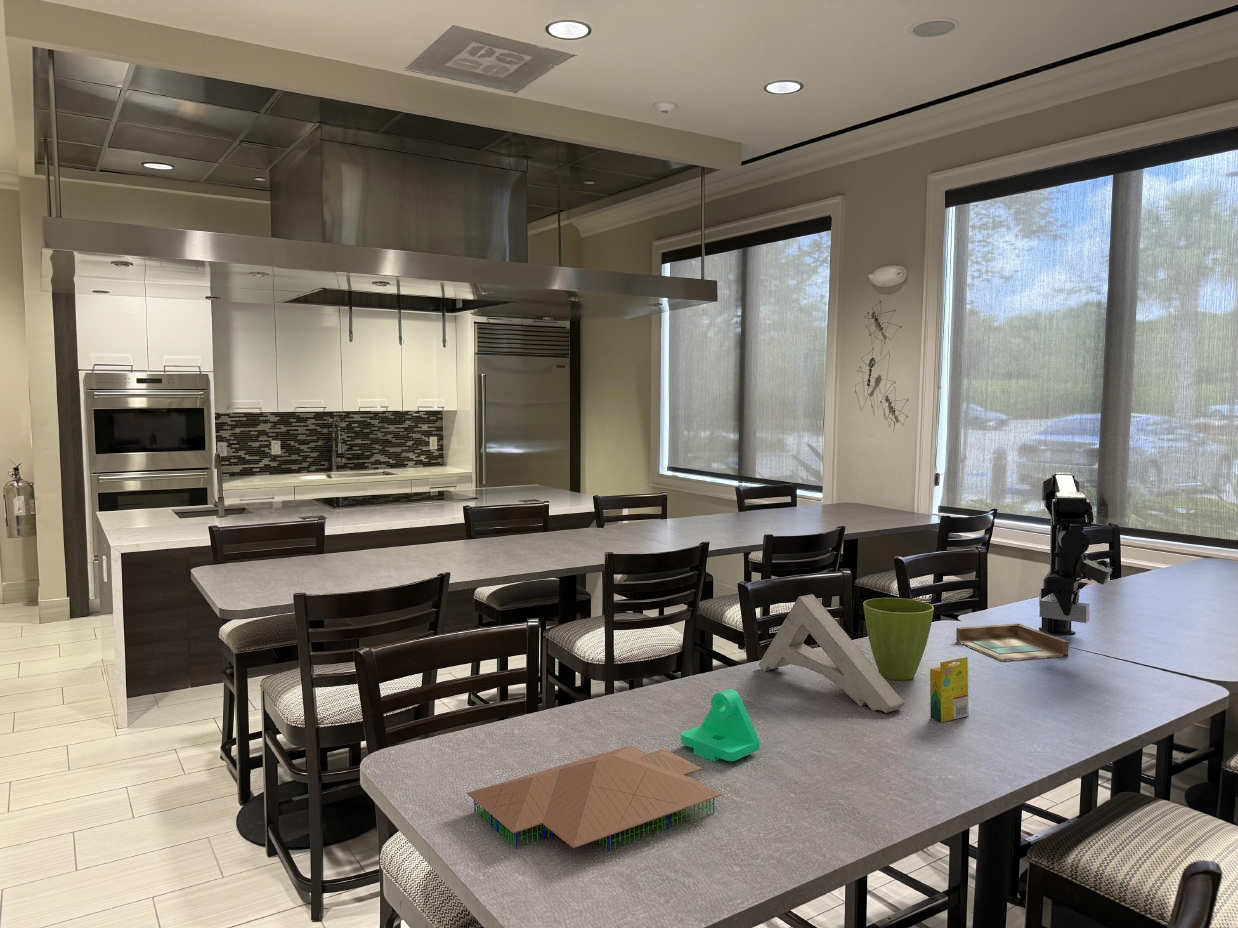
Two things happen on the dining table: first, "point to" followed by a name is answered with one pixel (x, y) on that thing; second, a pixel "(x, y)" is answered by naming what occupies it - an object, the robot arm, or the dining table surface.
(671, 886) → the dining table surface
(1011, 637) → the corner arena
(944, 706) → the crayon box
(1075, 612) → the angle bracket
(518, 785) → the house
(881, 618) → the flower pot
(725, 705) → the camera mount
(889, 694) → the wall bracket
